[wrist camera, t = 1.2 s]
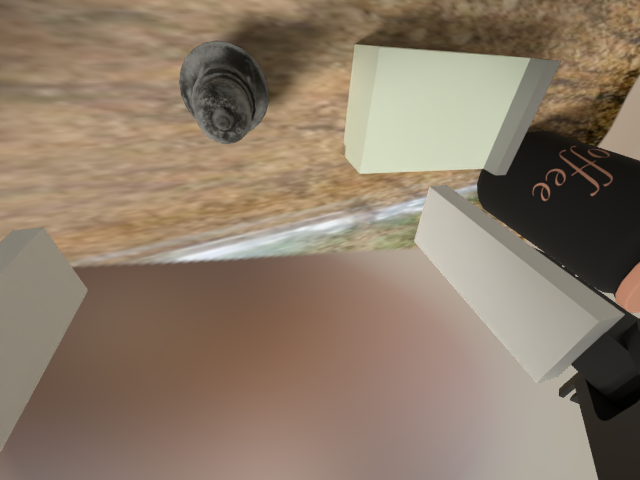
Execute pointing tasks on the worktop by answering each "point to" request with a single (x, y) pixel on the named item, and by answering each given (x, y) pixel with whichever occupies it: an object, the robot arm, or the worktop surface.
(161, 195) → the worktop surface
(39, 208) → the worktop surface
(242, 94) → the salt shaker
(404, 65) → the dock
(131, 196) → the worktop surface
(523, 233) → the coffee jar
